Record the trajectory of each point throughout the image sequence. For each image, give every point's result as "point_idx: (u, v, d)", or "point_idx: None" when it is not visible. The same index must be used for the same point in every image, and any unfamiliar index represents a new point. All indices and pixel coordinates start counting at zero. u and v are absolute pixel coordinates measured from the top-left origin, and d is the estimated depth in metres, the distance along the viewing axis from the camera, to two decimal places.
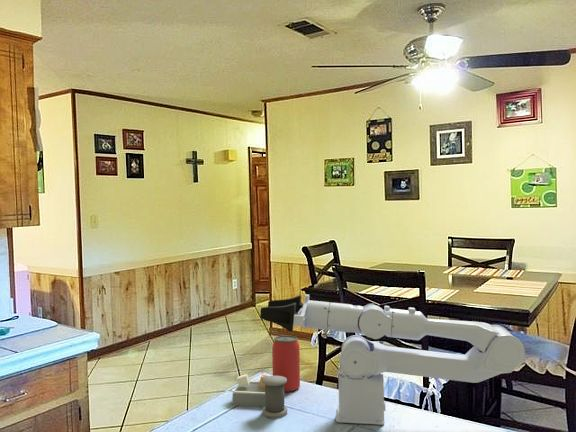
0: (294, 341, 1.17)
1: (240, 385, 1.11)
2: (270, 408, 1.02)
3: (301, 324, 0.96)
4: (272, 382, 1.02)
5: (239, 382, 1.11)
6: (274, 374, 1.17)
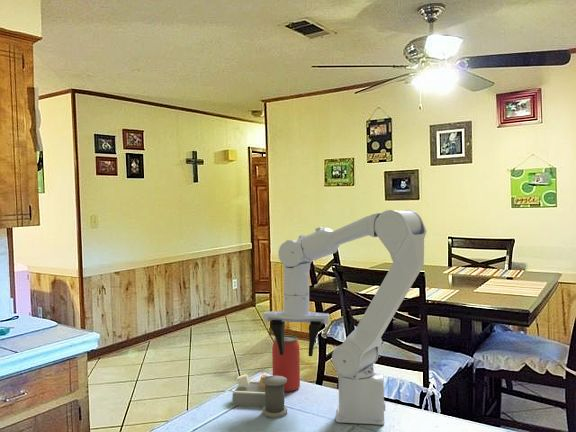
0: (294, 341, 1.17)
1: (240, 385, 1.11)
2: (270, 408, 1.02)
3: (264, 314, 1.10)
4: (272, 382, 1.02)
5: (239, 382, 1.11)
6: (274, 374, 1.17)
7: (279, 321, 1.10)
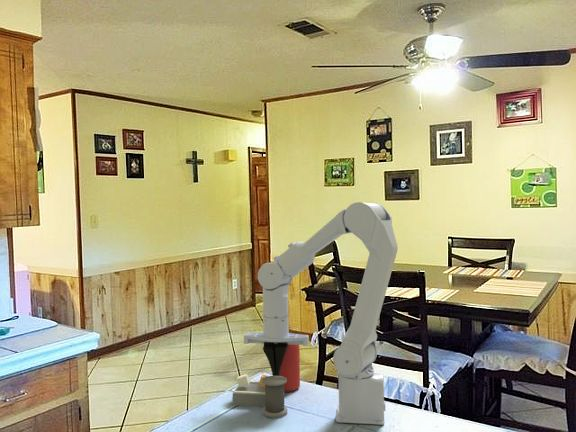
0: None
1: (240, 385, 1.11)
2: (270, 408, 1.02)
3: (244, 336, 1.11)
4: (272, 382, 1.02)
5: (239, 382, 1.11)
6: None
7: None
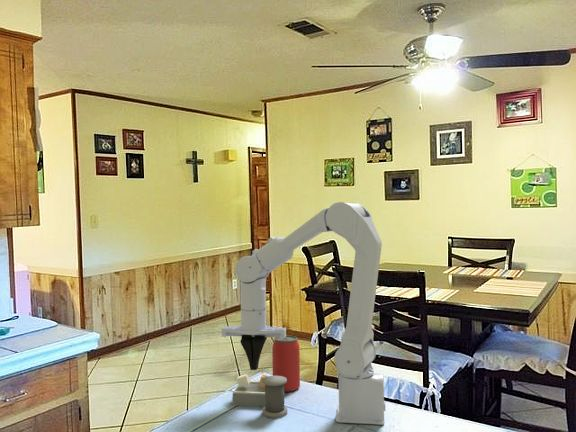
0: (294, 341, 1.17)
1: (240, 385, 1.11)
2: (270, 408, 1.02)
3: None
4: (272, 382, 1.02)
5: (239, 382, 1.11)
6: (274, 374, 1.17)
7: None
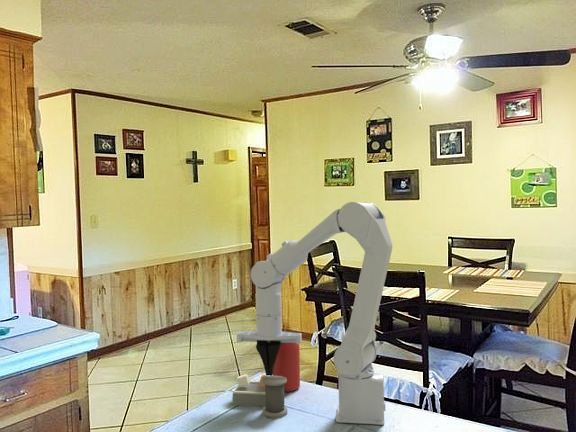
0: None
1: (240, 385, 1.11)
2: (270, 408, 1.02)
3: (237, 334, 1.11)
4: (272, 382, 1.02)
5: (239, 382, 1.11)
6: (274, 374, 1.17)
7: (252, 341, 1.11)
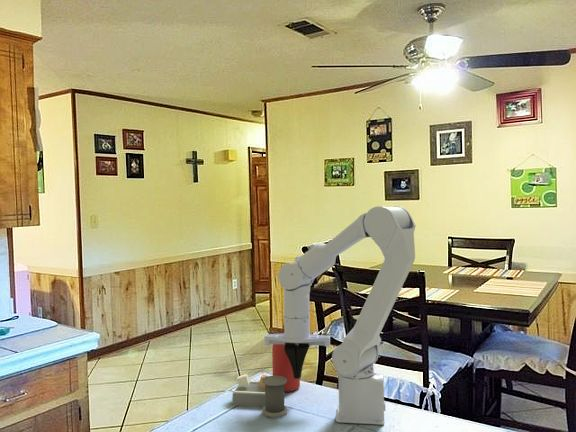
0: None
1: (240, 385, 1.11)
2: (270, 408, 1.02)
3: None
4: (272, 382, 1.02)
5: (239, 382, 1.11)
6: (274, 374, 1.17)
7: None
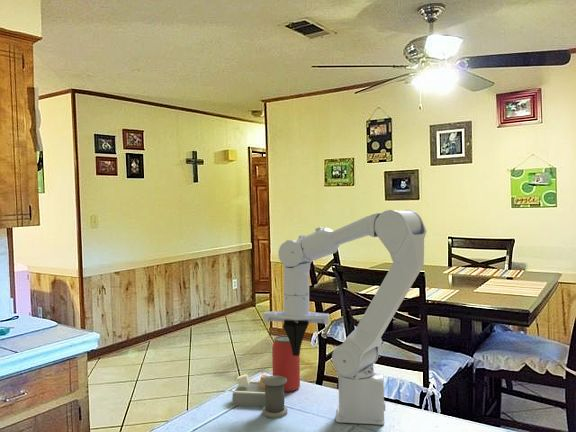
0: None
1: (240, 385, 1.11)
2: (270, 408, 1.02)
3: (264, 314, 1.10)
4: (272, 382, 1.02)
5: (239, 382, 1.11)
6: (274, 374, 1.17)
7: (279, 321, 1.10)
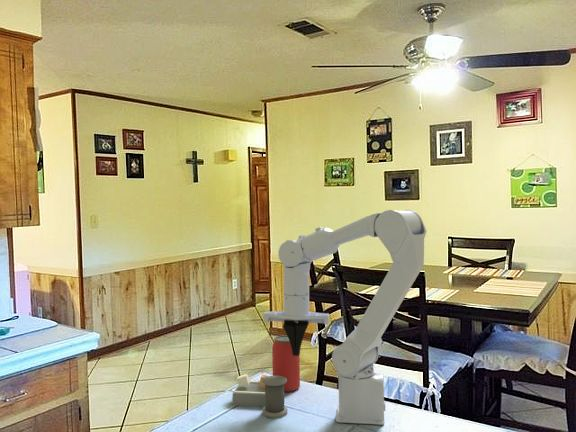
0: None
1: (240, 385, 1.11)
2: (270, 408, 1.02)
3: (264, 314, 1.10)
4: (272, 382, 1.02)
5: (239, 382, 1.11)
6: (274, 374, 1.17)
7: (279, 321, 1.10)
